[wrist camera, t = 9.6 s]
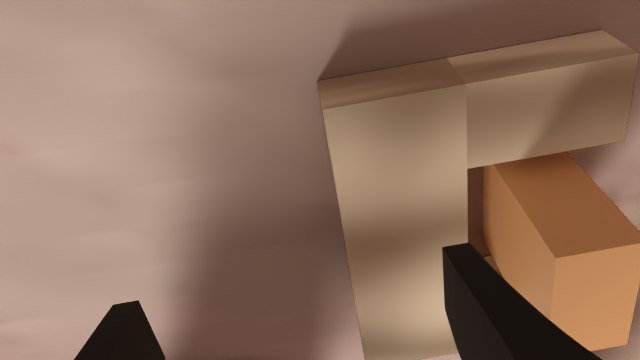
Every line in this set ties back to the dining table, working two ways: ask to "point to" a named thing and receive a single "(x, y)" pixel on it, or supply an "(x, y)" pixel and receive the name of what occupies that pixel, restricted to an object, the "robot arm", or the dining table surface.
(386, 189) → the notched board
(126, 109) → the dining table surface
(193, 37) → the dining table surface
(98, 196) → the dining table surface
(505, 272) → the orange brown rectangular block
